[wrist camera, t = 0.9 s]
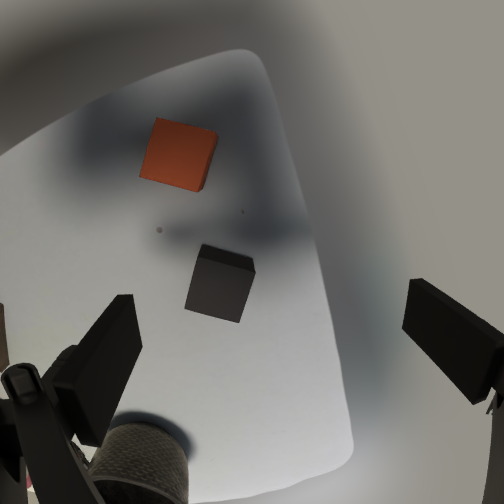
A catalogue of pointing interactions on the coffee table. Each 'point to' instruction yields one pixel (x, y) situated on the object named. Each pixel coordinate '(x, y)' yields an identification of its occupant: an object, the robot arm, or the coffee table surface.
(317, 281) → the coffee table surface
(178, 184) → the orange block
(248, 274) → the black cube
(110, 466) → the planter
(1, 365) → the frame
